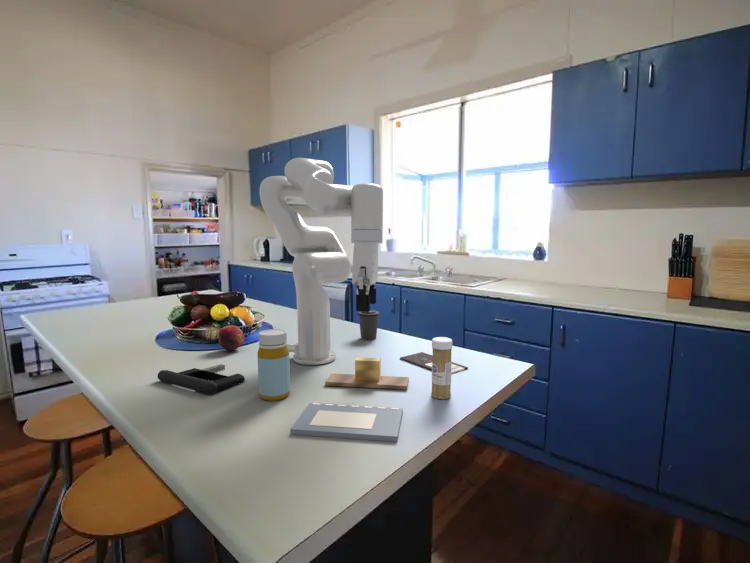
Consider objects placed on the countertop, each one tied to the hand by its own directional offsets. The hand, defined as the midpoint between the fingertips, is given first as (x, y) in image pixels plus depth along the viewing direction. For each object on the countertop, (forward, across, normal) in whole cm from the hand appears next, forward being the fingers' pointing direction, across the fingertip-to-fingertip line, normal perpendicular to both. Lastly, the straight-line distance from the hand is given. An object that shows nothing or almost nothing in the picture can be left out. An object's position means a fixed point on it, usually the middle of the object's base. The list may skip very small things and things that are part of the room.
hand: (366, 307), depth 100 cm
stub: (+19, +1, 0) cm, 19 cm away
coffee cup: (+20, -43, -6) cm, 48 cm away
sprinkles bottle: (+19, +6, +18) cm, 27 cm away
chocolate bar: (+20, -17, +16) cm, 31 cm away
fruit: (+20, -22, -48) cm, 56 cm away
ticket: (+19, +22, 0) cm, 29 cm away
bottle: (+20, +11, -20) cm, 30 cm away
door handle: (+20, +4, -41) cm, 46 cm away
